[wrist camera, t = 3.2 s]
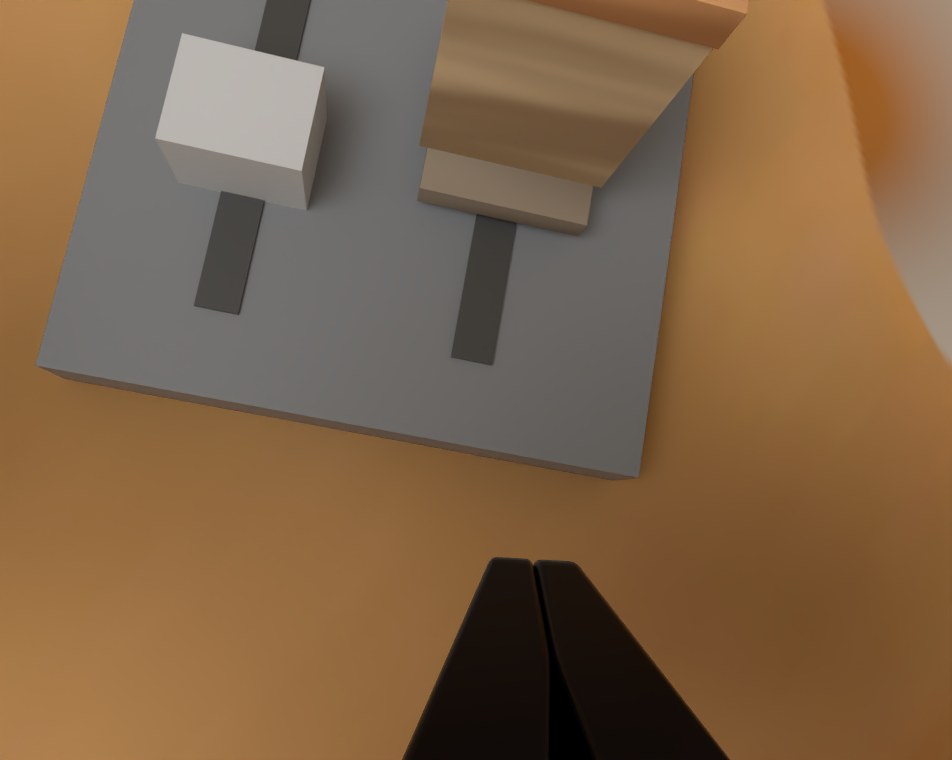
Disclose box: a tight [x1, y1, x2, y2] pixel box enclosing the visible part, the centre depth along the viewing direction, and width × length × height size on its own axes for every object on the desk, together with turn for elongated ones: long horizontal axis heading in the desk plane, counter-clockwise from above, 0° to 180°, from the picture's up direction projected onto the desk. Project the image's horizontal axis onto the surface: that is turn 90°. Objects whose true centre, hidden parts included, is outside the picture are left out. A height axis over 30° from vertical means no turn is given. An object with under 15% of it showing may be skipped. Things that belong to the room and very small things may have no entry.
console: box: [36, 0, 694, 480], centre depth 20 cm, size 18×14×4 cm
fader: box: [417, 0, 749, 236], centre depth 16 cm, size 5×4×8 cm
